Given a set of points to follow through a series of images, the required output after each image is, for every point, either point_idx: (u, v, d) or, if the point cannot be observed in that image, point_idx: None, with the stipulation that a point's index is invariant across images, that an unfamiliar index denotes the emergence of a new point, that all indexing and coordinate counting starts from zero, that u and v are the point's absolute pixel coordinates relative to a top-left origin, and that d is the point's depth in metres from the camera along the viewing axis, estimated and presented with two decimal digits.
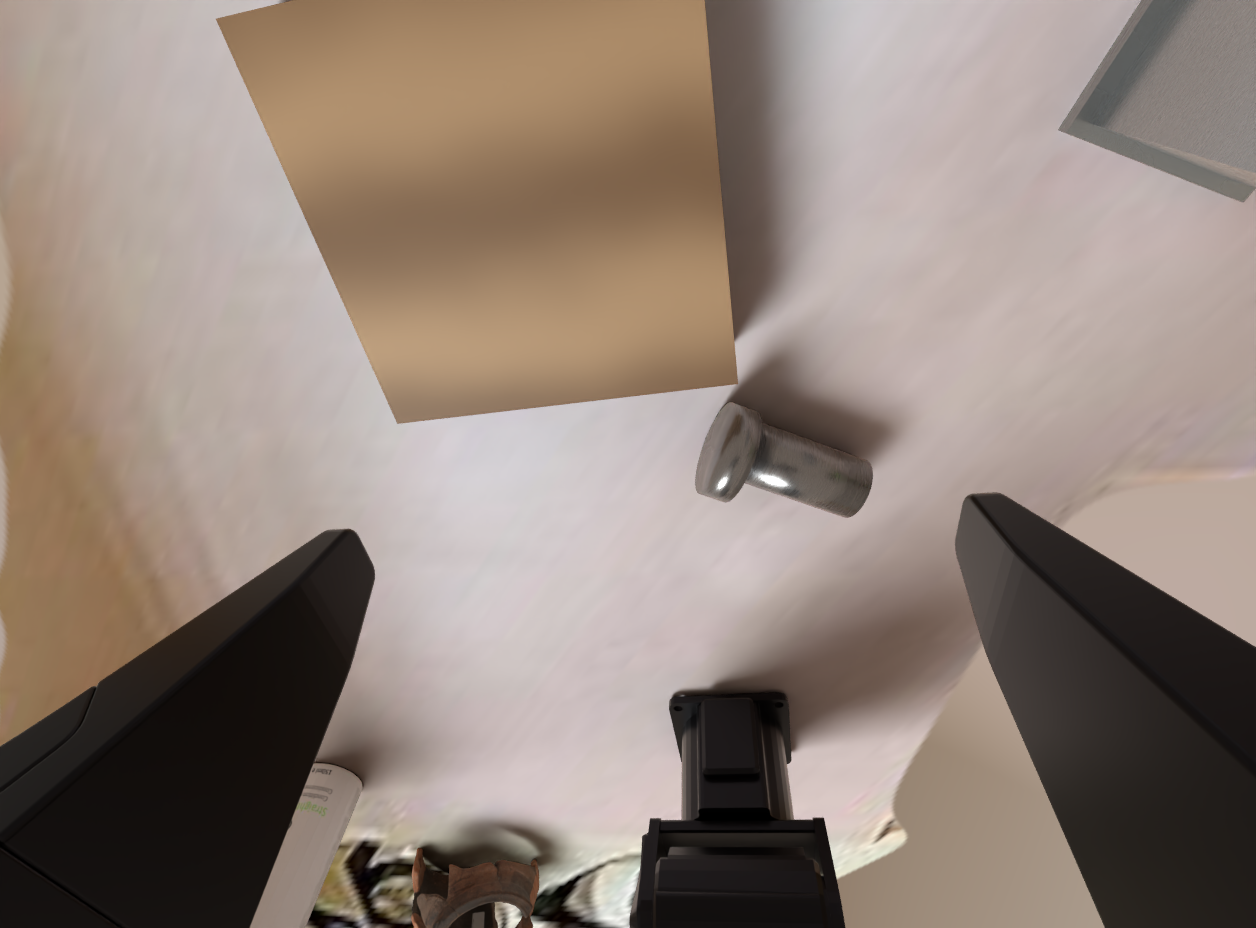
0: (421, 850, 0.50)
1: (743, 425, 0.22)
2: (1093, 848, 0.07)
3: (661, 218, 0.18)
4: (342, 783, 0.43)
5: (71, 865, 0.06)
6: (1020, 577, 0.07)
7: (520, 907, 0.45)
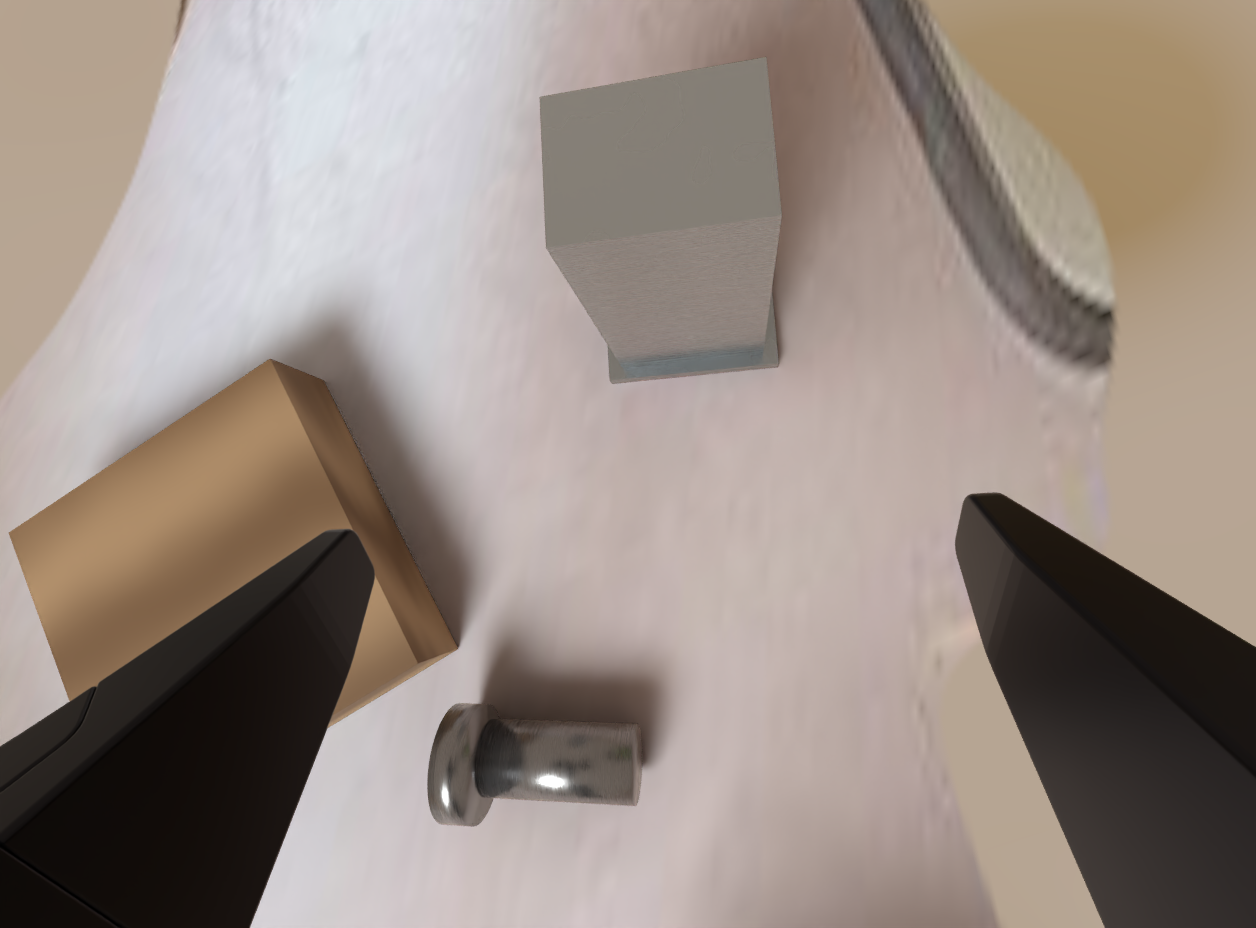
0: None
1: (454, 714, 0.20)
2: (1093, 848, 0.07)
3: (304, 541, 0.22)
4: None
5: (71, 865, 0.06)
6: (1020, 577, 0.07)
7: None
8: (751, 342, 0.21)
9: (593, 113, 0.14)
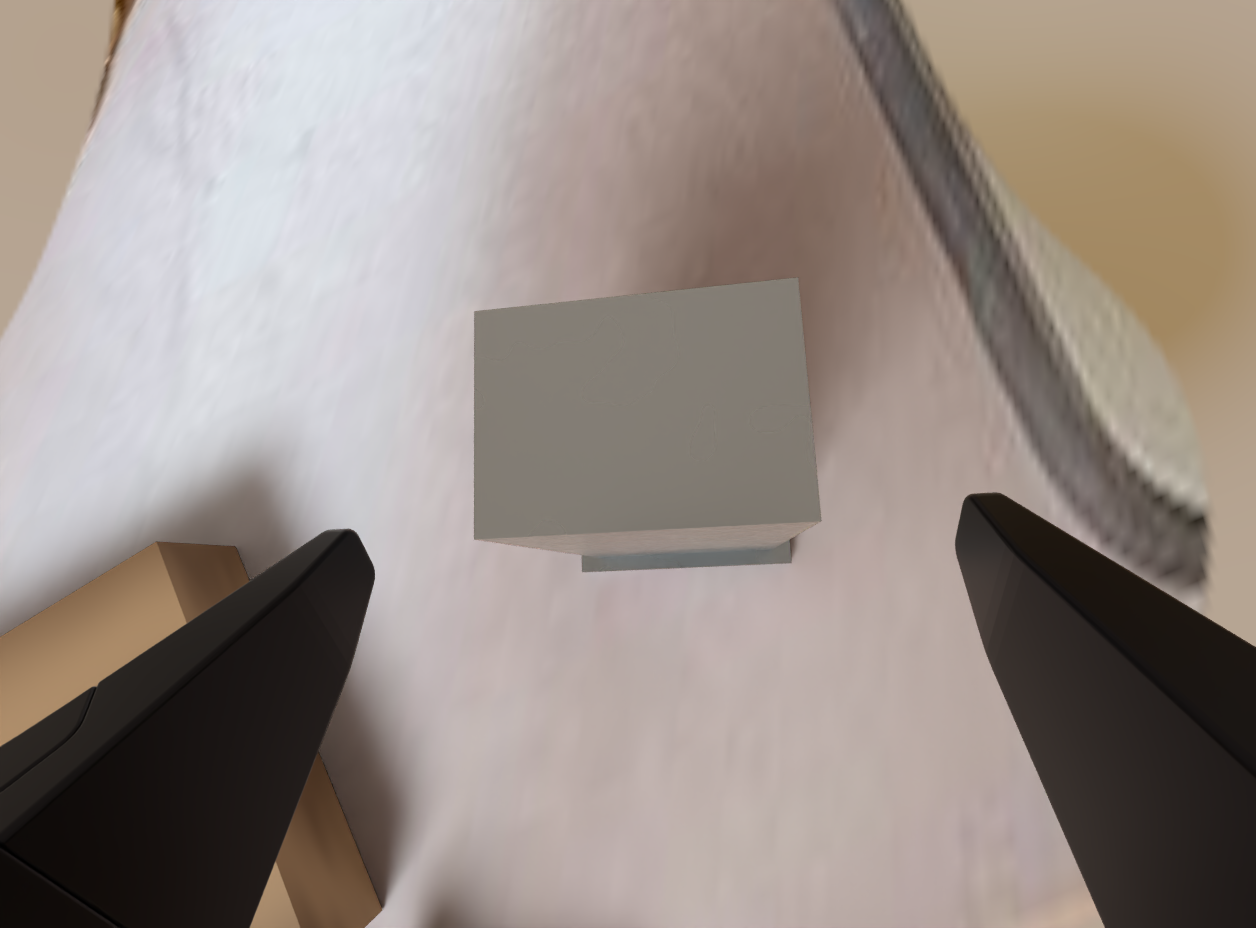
0: None
1: None
2: (1093, 848, 0.07)
3: None
4: None
5: (71, 865, 0.06)
6: (1020, 577, 0.07)
7: None
8: (759, 547, 0.17)
9: (549, 341, 0.10)
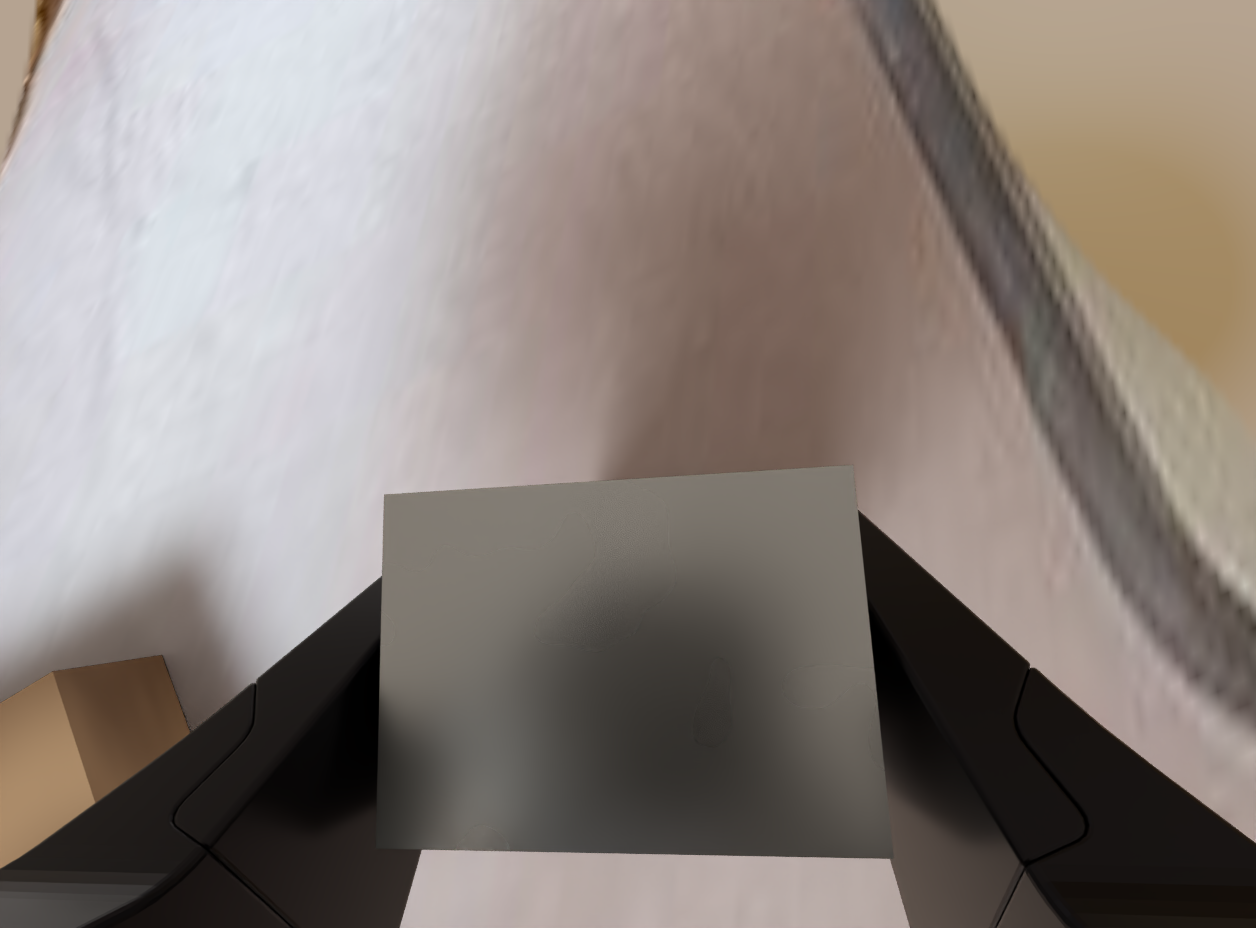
0: None
1: None
2: (896, 845, 0.07)
3: None
4: None
5: (264, 868, 0.06)
6: None
7: None
8: None
9: (488, 546, 0.07)
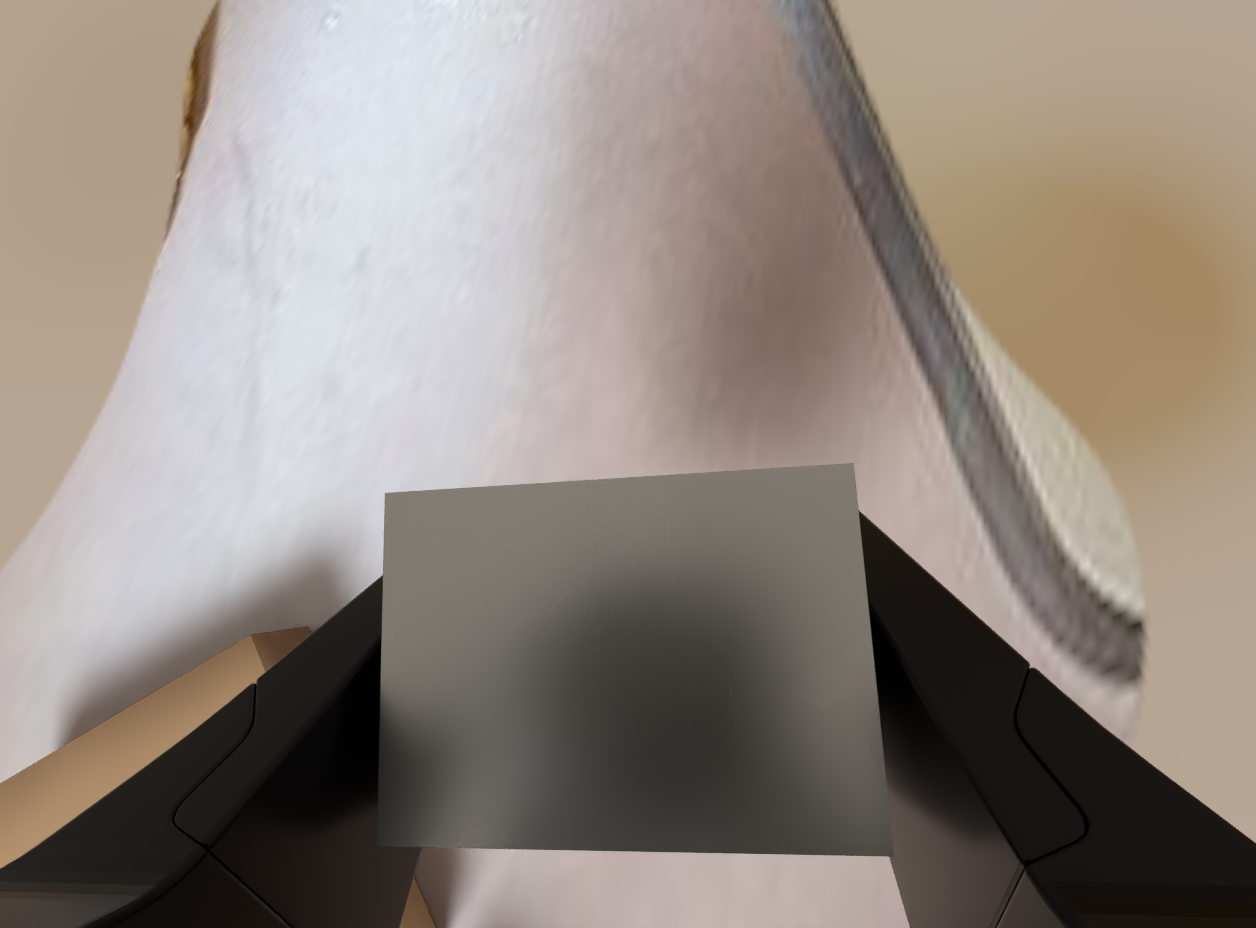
0: None
1: None
2: (896, 845, 0.07)
3: None
4: None
5: (264, 868, 0.06)
6: None
7: None
8: None
9: (489, 544, 0.07)
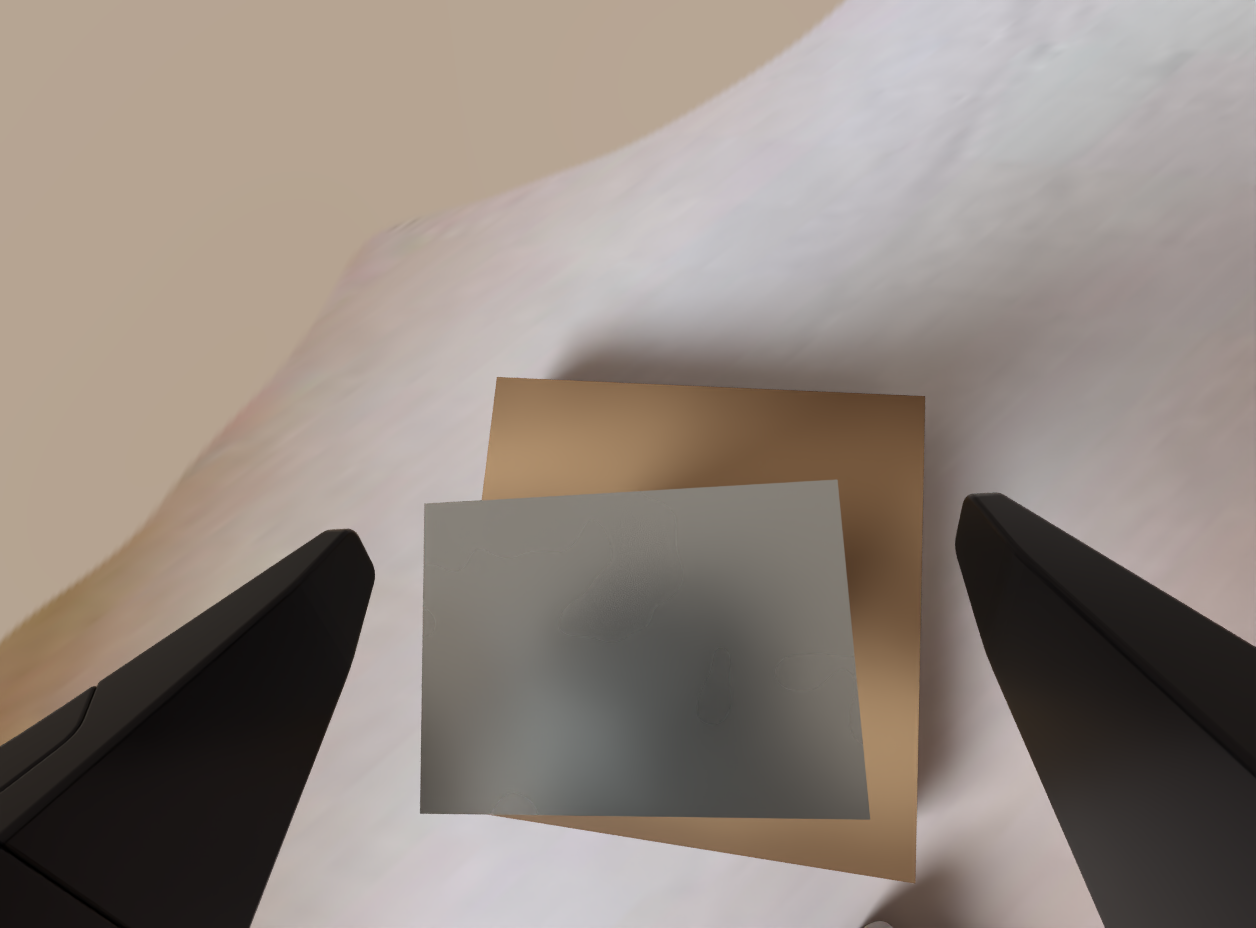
0: None
1: None
2: (1093, 848, 0.07)
3: None
4: None
5: (72, 865, 0.06)
6: (1020, 577, 0.07)
7: None
8: None
9: (517, 549, 0.08)
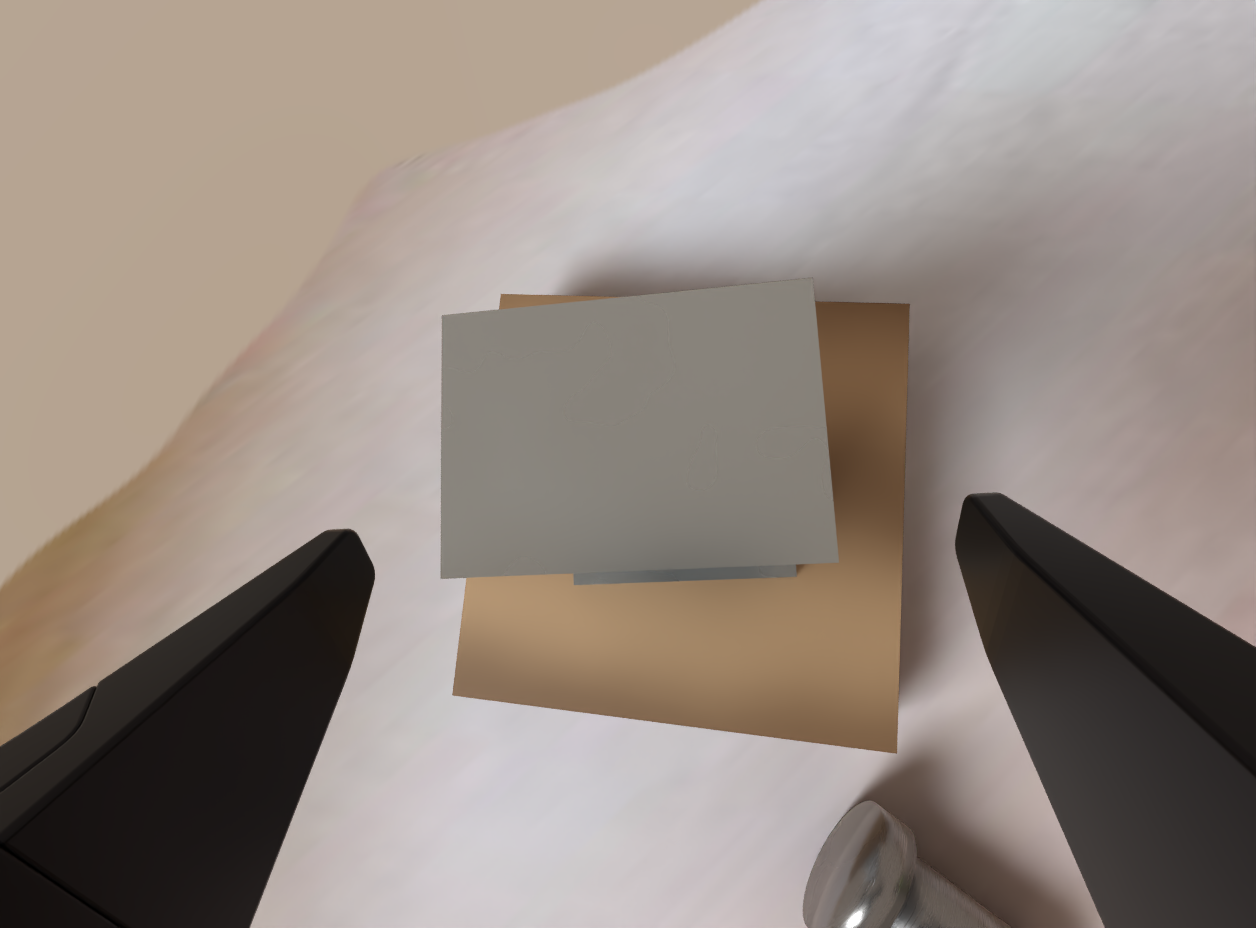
0: None
1: (892, 827, 0.16)
2: (1093, 848, 0.07)
3: None
4: None
5: (71, 863, 0.06)
6: (1020, 577, 0.07)
7: None
8: None
9: (526, 350, 0.09)
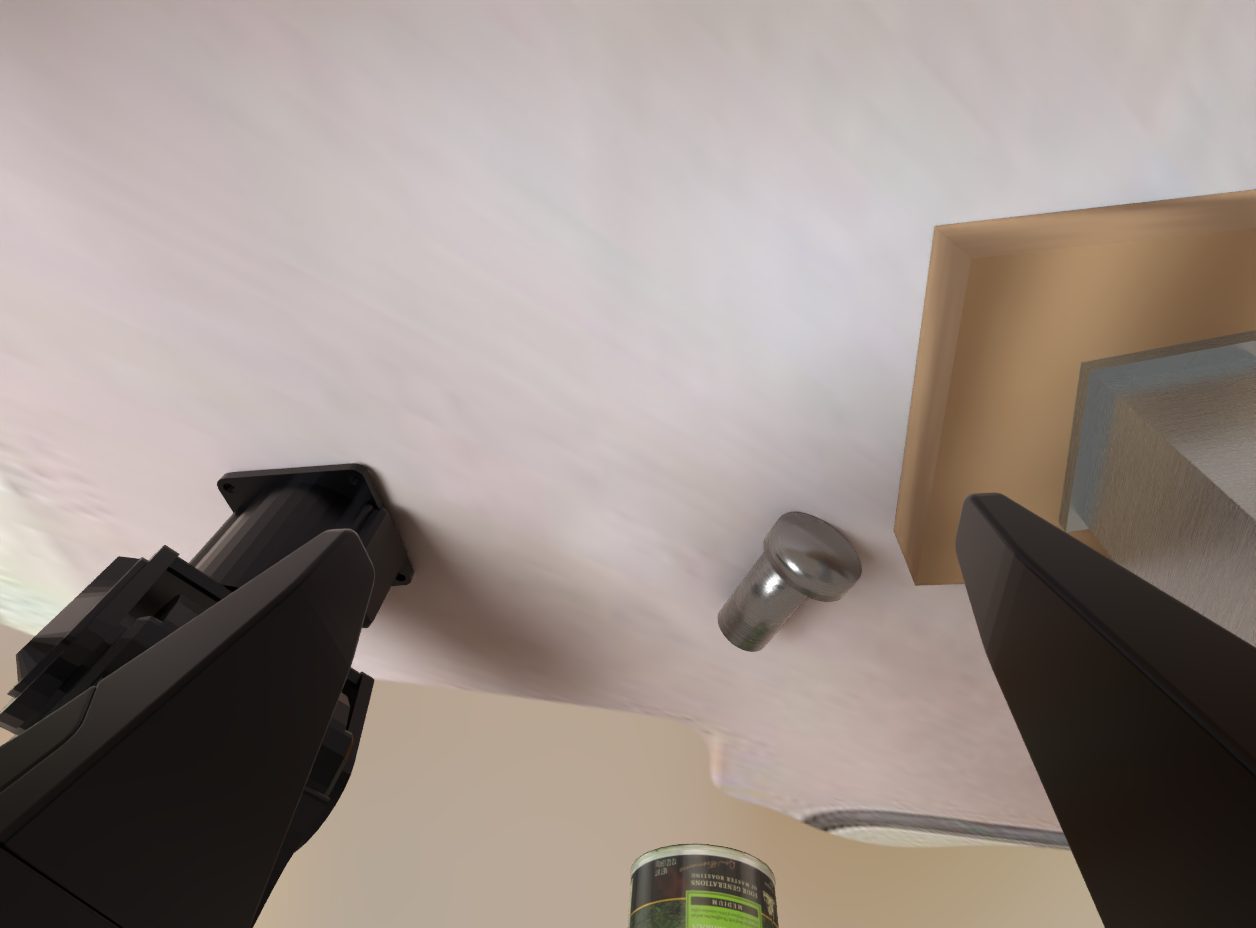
0: None
1: None
2: (1093, 848, 0.07)
3: (1093, 542, 0.22)
4: None
5: (72, 865, 0.06)
6: (1020, 577, 0.07)
7: None
8: (1106, 538, 0.19)
9: None
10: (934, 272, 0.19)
